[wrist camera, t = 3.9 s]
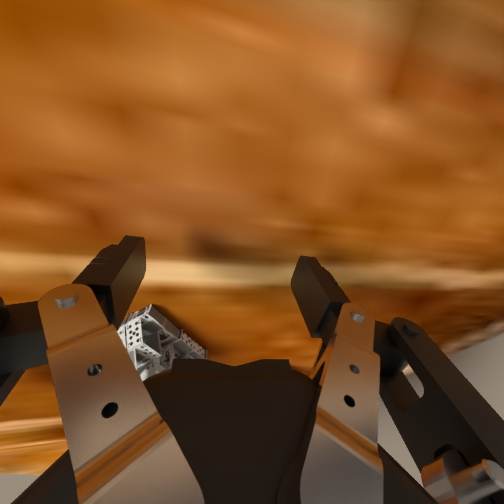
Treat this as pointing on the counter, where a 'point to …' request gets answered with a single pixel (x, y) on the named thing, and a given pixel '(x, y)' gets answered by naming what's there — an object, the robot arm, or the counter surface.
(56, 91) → the counter surface
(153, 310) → the house of cards
